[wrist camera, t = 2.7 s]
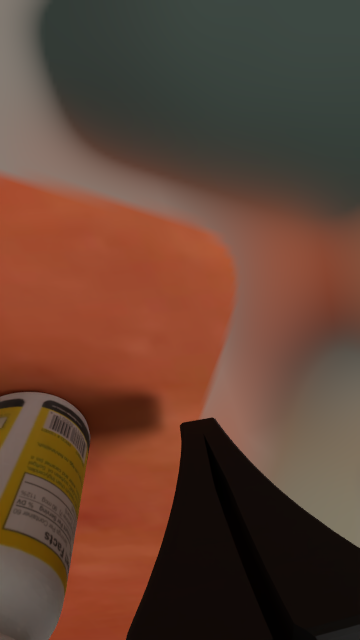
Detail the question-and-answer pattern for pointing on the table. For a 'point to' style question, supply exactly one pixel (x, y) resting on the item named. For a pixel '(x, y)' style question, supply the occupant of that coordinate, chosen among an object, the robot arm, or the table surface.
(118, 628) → the table surface
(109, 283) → the table surface
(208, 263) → the table surface
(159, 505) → the table surface
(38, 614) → the supplement bottle
